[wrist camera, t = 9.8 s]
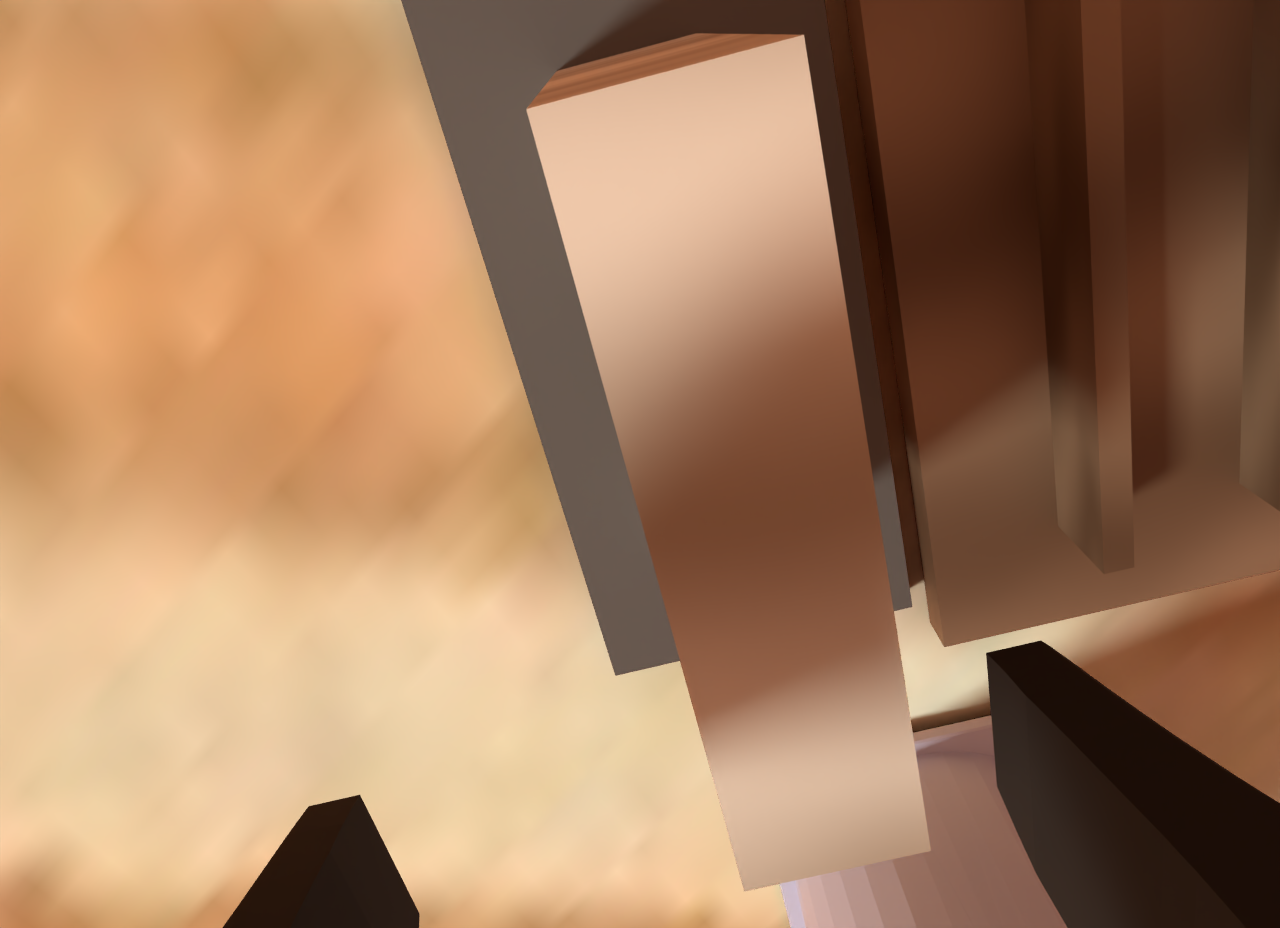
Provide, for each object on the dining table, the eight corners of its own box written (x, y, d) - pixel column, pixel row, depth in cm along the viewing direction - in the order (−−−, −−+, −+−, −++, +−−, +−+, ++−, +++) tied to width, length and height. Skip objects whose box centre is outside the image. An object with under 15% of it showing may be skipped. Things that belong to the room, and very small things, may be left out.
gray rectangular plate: (904, 592, 22) (912, 606, 22) (614, 659, 22) (615, 675, 22) (785, -210, 15) (792, -219, 15) (377, -95, 16) (369, -99, 15)
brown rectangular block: (794, 524, 20) (931, 851, 12) (682, 551, 21) (744, 891, 12) (695, 33, 16) (803, 34, 8) (557, 70, 16) (526, 109, 8)
